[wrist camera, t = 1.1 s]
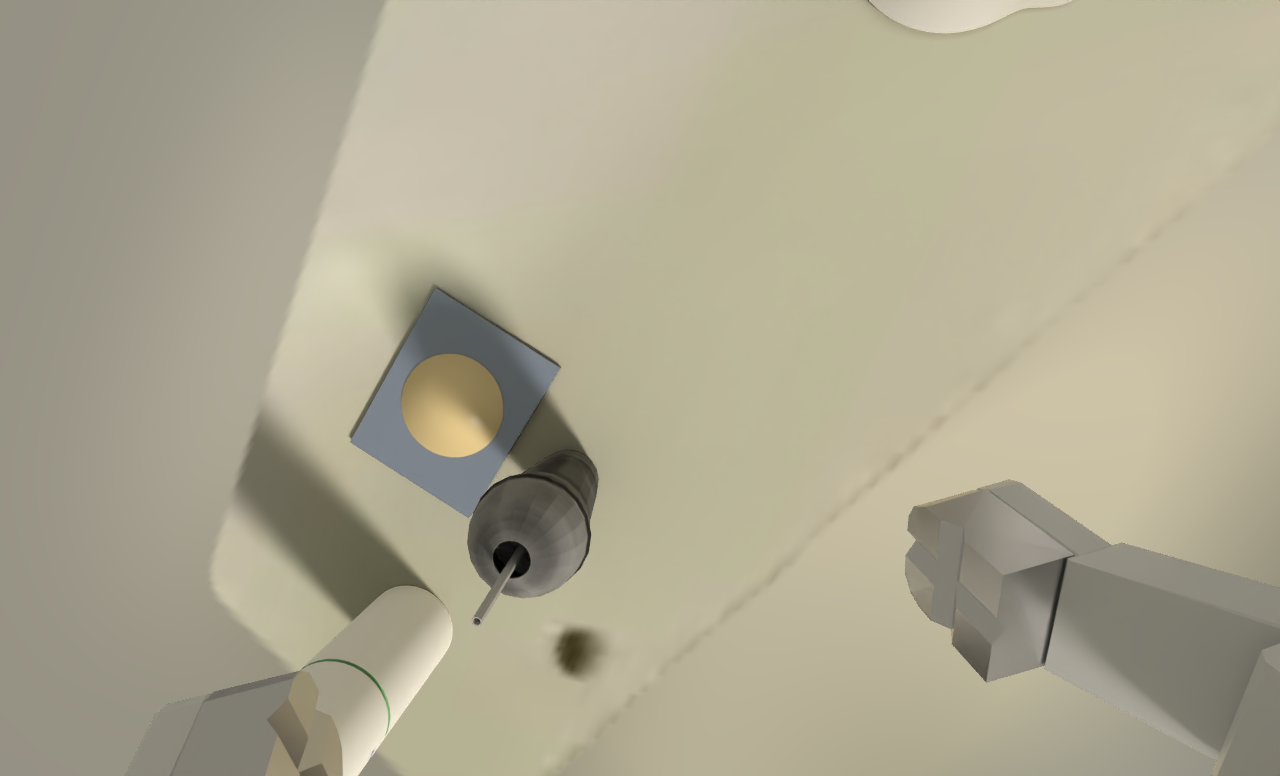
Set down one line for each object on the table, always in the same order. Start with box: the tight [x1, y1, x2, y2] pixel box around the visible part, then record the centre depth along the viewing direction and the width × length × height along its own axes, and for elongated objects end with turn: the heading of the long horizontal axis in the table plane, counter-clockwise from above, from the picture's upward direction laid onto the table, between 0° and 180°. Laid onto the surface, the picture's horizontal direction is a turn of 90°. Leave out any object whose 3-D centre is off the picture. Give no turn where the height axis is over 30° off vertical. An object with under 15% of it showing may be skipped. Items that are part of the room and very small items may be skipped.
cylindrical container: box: [300, 585, 453, 776], centre depth 41 cm, size 7×7×25 cm
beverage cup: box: [467, 450, 598, 626], centre depth 40 cm, size 7×7×20 cm
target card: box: [350, 288, 561, 518], centre depth 50 cm, size 14×11×1 cm
